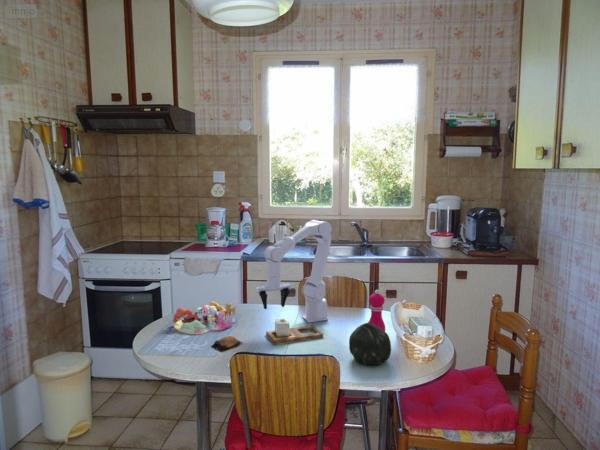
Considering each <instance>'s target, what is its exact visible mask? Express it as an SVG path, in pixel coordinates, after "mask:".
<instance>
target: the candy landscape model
mask: <svg viewBox="0 0 600 450" xmlns="http://www.w3.org/2000/svg"><path fill="white" fill-rule="evenodd" d="M236 311H237V307H236V306H234V307H232V303H231V302H227V303H225V305H224V306H223V305H221V304H219V303H218V302H215V301H213V300H212V301H210V302H209V303H208V304H205V305H203V306H201V307H197V308H196V309H195V311H194V313H193V311H192V309H190V308H188V309H185V308H184V307H178V308H177V309H176V310H175V314H174V315H173V320H172V322H173V328H174V330H176V331H178V332H180V333H182V334H187V335H205V334H208V333H210V332H217V331H222V330H225V329H228V328H230V327H233V325H234V323H235V322H236V319H235V317H234V316H235V313H236ZM180 318H182V319H180Z"/></svg>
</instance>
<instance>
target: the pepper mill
mask: <svg viewBox="0 0 600 450" xmlns="http://www.w3.org/2000/svg"><path fill="white" fill-rule="evenodd" d="M368 302H369V304H370V306H369V309H370V313H371V314H370V318H369V320H368V322H367V323H371V324H374V325H376V326H377V327H380V328H381V329H382V330H383V331H385V332H386V324H385V322H384V319H383V316H382V314H383V310H384V306H383V305H384V304H385V302H386V301H385V297H384V295H383V294H381V293H380V290H379V289H376V290H374V293H372V294H371V295H369V299H368Z"/></svg>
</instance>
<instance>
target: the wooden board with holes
mask: <svg viewBox="0 0 600 450" xmlns="http://www.w3.org/2000/svg"><path fill="white" fill-rule="evenodd" d="M305 332H312V333H306V334H303V333H305ZM265 335H266V337H267V338H268V340H270V342H271V343H272V344H273V345H274V346H275V345H276V346H277V345H284V344H289V343H296V342H303V341H304V342H305V341H309V340H316V339H324V333H323V332H322V331H320V330H319V328H317V327H316V326H315V325H313V324H311V325H304V326H296V327H289V336H288V337H282V338H276V337H275V329H274V330H268V331H265Z"/></svg>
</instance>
